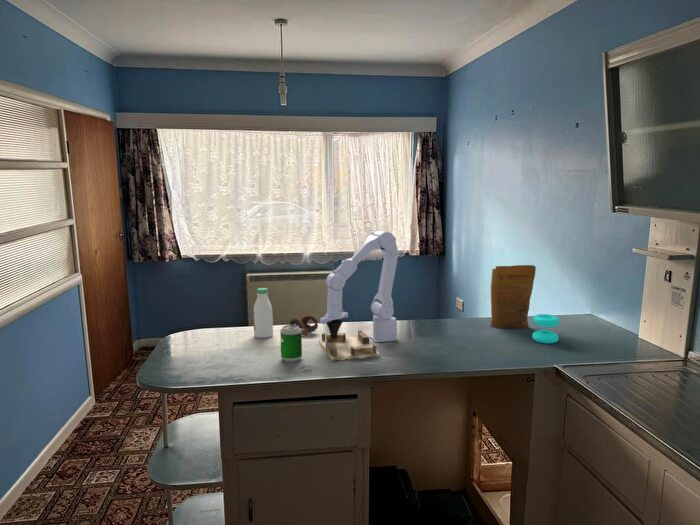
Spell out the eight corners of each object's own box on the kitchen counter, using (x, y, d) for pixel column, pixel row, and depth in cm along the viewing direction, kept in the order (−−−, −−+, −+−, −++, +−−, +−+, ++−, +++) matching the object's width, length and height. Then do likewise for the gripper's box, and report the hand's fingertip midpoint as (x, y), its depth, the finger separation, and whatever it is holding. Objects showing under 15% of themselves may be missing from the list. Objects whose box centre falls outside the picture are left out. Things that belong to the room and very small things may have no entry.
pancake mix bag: (534, 330, 214) (538, 266, 209) (489, 329, 215) (492, 265, 211) (530, 325, 220) (533, 263, 216) (486, 324, 222) (489, 263, 217)
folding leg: (326, 341, 194) (326, 334, 194) (326, 339, 197) (326, 332, 197) (345, 341, 194) (345, 335, 194) (345, 339, 196) (345, 333, 196)
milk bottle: (276, 334, 207) (275, 288, 204) (264, 339, 200) (262, 291, 197) (263, 332, 211) (261, 286, 208) (250, 336, 204) (248, 289, 201)
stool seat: (362, 338, 202) (362, 329, 201) (379, 356, 181) (379, 346, 180) (319, 342, 197) (318, 333, 196) (331, 361, 176) (331, 350, 176)
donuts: (554, 321, 191) (529, 316, 197) (553, 346, 193) (527, 340, 199) (563, 316, 198) (538, 312, 205) (562, 340, 200) (537, 335, 206)
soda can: (305, 357, 180) (304, 325, 178) (296, 364, 173) (295, 331, 171) (286, 354, 183) (286, 323, 181) (277, 361, 176) (276, 329, 174)
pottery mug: (316, 329, 216) (320, 316, 212) (313, 344, 209) (317, 331, 204) (289, 323, 215) (293, 309, 211) (285, 338, 208) (289, 324, 203)
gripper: (338, 300, 200) (338, 332, 202) (314, 305, 189) (313, 340, 190) (352, 302, 195) (351, 336, 197) (328, 308, 184) (327, 344, 186)
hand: (333, 338), depth 193 cm, fingers closed, pressing on folding leg
